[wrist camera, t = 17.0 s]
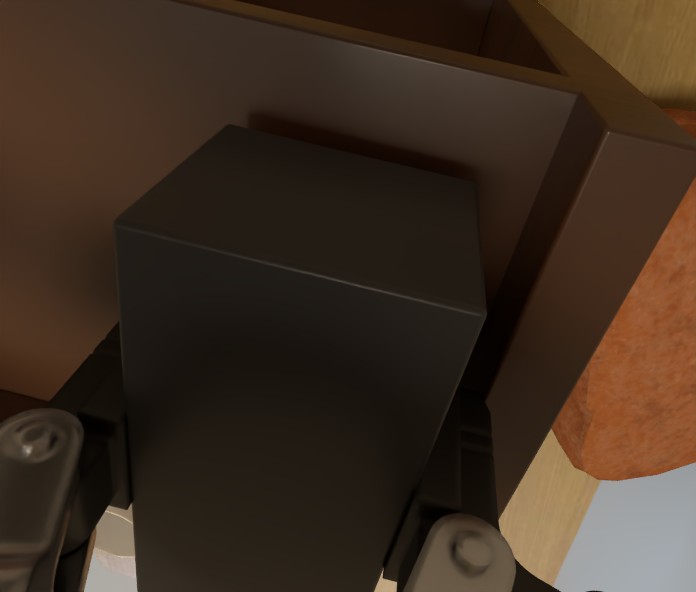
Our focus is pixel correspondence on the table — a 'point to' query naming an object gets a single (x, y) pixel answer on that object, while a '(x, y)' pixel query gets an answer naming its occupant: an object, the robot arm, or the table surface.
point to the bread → (643, 365)
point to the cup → (116, 533)
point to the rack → (342, 134)
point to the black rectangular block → (288, 359)
